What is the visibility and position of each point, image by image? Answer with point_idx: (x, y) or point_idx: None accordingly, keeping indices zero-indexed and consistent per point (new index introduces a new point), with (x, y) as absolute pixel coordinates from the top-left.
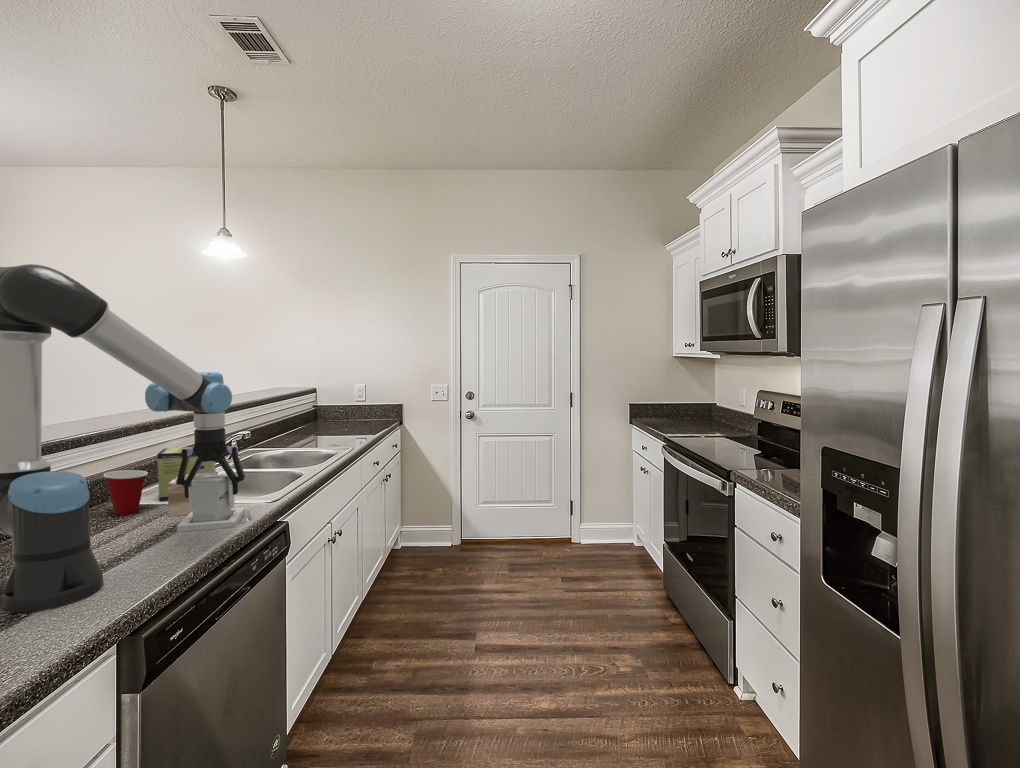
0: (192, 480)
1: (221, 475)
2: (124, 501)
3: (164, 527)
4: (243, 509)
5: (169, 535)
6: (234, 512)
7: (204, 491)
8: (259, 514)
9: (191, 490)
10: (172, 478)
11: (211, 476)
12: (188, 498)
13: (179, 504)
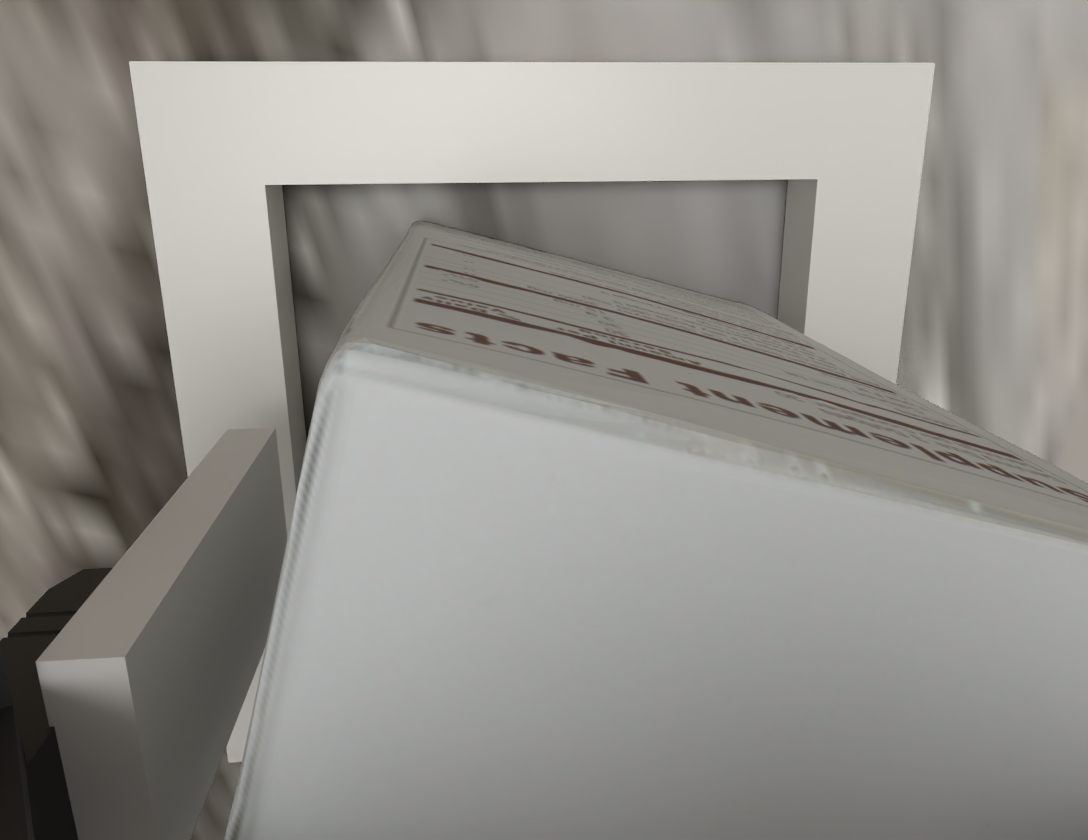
0: (21, 773)
1: (1000, 672)
2: None
3: (2, 521)
4: (920, 182)
5: (213, 806)
6: (810, 320)
7: None
8: (1076, 232)
9: (196, 822)
10: None
11: (667, 789)
12: None
13: None
